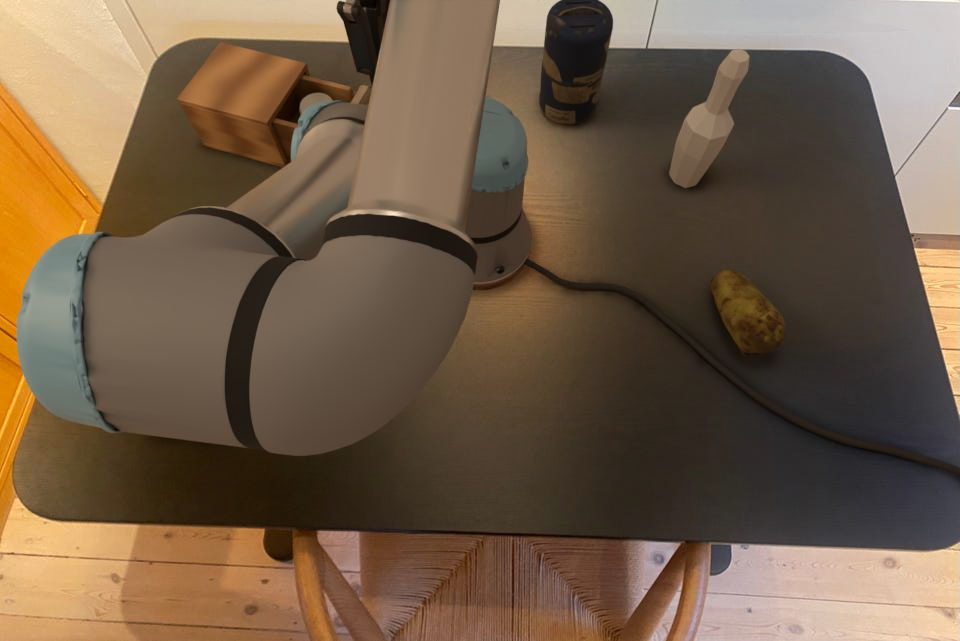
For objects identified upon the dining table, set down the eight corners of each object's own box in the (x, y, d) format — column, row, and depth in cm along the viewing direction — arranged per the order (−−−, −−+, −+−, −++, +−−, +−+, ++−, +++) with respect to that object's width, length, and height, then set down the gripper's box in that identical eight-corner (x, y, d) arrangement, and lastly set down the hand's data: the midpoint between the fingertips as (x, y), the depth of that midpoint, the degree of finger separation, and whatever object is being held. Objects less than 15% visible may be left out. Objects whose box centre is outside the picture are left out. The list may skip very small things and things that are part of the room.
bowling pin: (655, 172, 93) (701, 51, 73) (684, 153, 95) (737, 30, 75) (685, 199, 91) (741, 81, 71) (714, 178, 92) (777, 58, 73)
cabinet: (321, 111, 99) (306, 63, 90) (286, 168, 94) (266, 122, 85) (242, 91, 101) (220, 41, 92) (203, 145, 96) (176, 98, 87)
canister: (591, 133, 97) (613, 35, 80) (533, 124, 97) (542, 25, 81) (598, 90, 101) (620, -11, 85) (542, 82, 102) (553, -19, 86)
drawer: (405, 132, 96) (399, 93, 89) (377, 186, 91) (368, 150, 84) (300, 105, 98) (286, 65, 91) (267, 156, 94) (250, 119, 87)
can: (348, 127, 95) (339, 95, 89) (336, 152, 92) (326, 120, 87) (317, 121, 95) (306, 88, 89) (304, 145, 93) (292, 113, 87)
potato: (765, 286, 84) (791, 255, 77) (769, 372, 78) (798, 347, 71) (704, 278, 84) (725, 246, 77) (704, 362, 79) (726, 336, 72)
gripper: (360, -144, 64) (390, 45, 85) (287, -51, 57) (340, 130, 78) (426, -132, 63) (440, 57, 84) (361, -35, 56) (394, 144, 77)
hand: (392, 92), depth 81 cm, fingers open, 4 cm apart
